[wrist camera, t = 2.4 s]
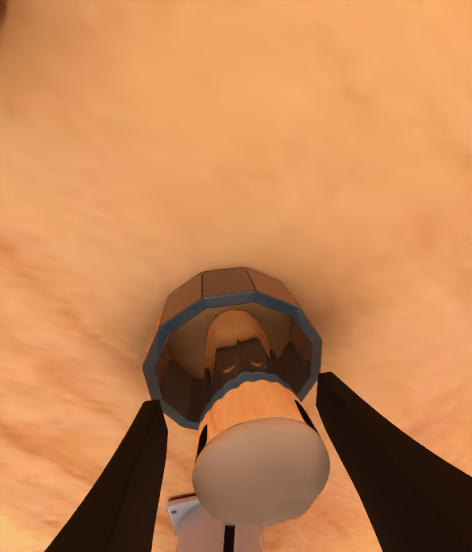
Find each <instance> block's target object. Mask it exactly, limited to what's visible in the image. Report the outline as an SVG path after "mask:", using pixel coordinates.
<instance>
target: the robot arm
mask: <svg viewBox="0 0 472 552" xmlns="http://www.w3.org/2000/svg"><path fill="white" fill-rule="evenodd" d="M316 407H317V409H318V412H319V415H320V417H321V420H322V422H323V425H324V427H325V430H326V432H327V434H328V436H329V438H330V440H331V441H332V443H333V445H334V447H335V449H336V451H337V453H338V455H339V457H340V459H341V461H342V463H343V465H344V467H345V469H346V471H347V472H348V474H349V476H350V478H351V480H352V482H353V484H354V486H355V488H356V490H357V492H358V494H359V496H360V499H361V501H362V503H363V505H364V508H365V510H366V512H367V515H368V517H369V519H370V522H371V524H372V527H373V529H374V531H375V534H376V536H377V539H378V541H379V543H380V546H381V548H382V551H383V552H472V477H471V476H469V475H467V474H466V473H464V472H463V471H461V470H459V469H458V468H456V467H454V466H453V465H451V464H450V463H448V462H446V461H445V460H443V459H442V458H440V457H439V456H437V455H435V454H434V453H432V452H431V451H429V450H428V449H427V448H425V447H424V446H422V445H421V444H419V443H418V442H416V441H415V440H414V439H412V438H411V437H409V436H408V435H407V434H405V433H404V432H403V431H401V430H400V429H399V428H397V427H396V426H395V425H393V424H392V423H391V422H390V421H388V420H387V419H386V418H384V417H383V416H382V415H381V414H379V413H378V412H377V411H376V410H375V409H373V408H372V407H371V406H370V405H369V404H367V403H366V402H365V401H364V400H363V399H362V398H360V397H359V396H358V395H357V394H356V393H355V392H354V391H352V390H351V389H350V388H349V387H348V386H347V385H346V384H345V383H343V382H342V381H341V380H340V379H339V378H338V377H337V376H336V375H335V374H333V373H332V372H325V373H319V374H318V385H317V399H316ZM167 437H168V429H167V426H166V422H165V419H164V415H163V411H162V408H161V404H160V401H159V399H157V400H151V401H145V402H144V403H143V404H142V406H141V408H140V410H139V412H138V414H137V415H136V417H135V419H134V421H133V423H132V425H131V426H130V428H129V430H128V432H127V433H126V435H125V437H124V438H123V440H122V442H121V443H120V445H119V447H118V448H117V450H116V452H115V453H114V455H113V457H112V458H111V460H110V461H109V463H108V464H107V466H106V468H105V469H104V471H103V472H102V474H101V475H100V477H99V478H98V480H97V481H96V483H95V484H94V486H93V487H92V489H91V490H90V492H89V493H88V494H87V496H86V497H85V499H84V500H83V501H82V503H81V504H80V506H79V507H78V508H77V510H76V511H75V512H74V514H73V515H72V516H71V518H70V519H69V521H68V522H67V523H66V524H65V526H64V527H63V528H62V530H61V531H60V532H59V533H58V535H57V536H56V537H55V539H54V540H53V541H52V542H51V544H50V545H49V546H48V548H47V549H46V550H45V551H44V552H151V549H152V540H153V533H154V526H155V520H156V514H157V509H158V503H159V497H160V491H161V485H162V479H163V473H164V467H165V461H166V452H167ZM167 511H168V514H169V516H170V519H171V522H172V525H173V528H174V531H175V534H176V537H177V548H176V552H221V548H222V535H223V523H224V522H222V521H219V520H217V519H214V518H213V517H212V516H210V515H209V514H208V513H207V512H206V511H205V510H204V508H203V507H202V505H201V504H200V502H199V500H198V498H197V496H192V497H186V498H181V499H176V500H172V501H170V502H168V504H167ZM261 540H262V533H261V526H239V525H235V543H234V552H262V549H261V543H260V541H261Z"/></svg>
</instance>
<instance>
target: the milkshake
mask: <svg viewBox="0 0 472 552" xmlns="http://www.w3.org/2000/svg"><path fill="white" fill-rule="evenodd" d="M329 470H330V460H329V456H328V452H327V449H326V447H325V445H324V442H323V440H322V439H321V437H320V435H319V433H318V431H317V430H316V428H315V426H314V424H313V423H312V421H311V419H310V417H309V415H308V414H307V412H306V410H305V408H304V407H303V405H302V403H301V401H300V400H299V398H298V396H297V394H296V393H295V391H294V389H293V387H292V386H291V384H290V382H289V380H288V378H287V376H286V374H285V372H284V370H283V368H282V367H281V365H280V363H279V361H278V359H277V357H276V355H275V353H274V351H273V349H272V347H271V346H270V344H269V342H268V340H267V338H266V336H265V334H264V332H263V330H262V328H261V327H260V325H259V323H258V321H257V320H256V319H255V318H254V317H252V316H251V315H250V314H249V313H248V312H247V311H240V310H228V311H226V312H224V313H222V314H220V315H218V316H216V317H215V319H214V320H213V322H212V324H211V325H210V327H209V329H208V335H207V346H206V357H205V369H204V380H203V392H202V402H201V411H200V419H199V427H198V436H197V444H196V452H195V460H194V468H193V473H192V482H193V487H194V490H195V493H196V495H197V498H198V500H199V502H200V504H201V505H202V507H203V508H204V510H205V511H206V512H207V513H208V514H209V515H210V516H212V517H213V518H214V519H217V520H219V521H222V522H224V523H223V535H222V548H221V552H234V543H235V525H239V526H271V525H274V524H276V523H279V522H283V521H286V520H290V519H294V518H298V517H300V516H302V515H303V514H304V513H305V512H306V511H307V510H308V508H309V507H310V506H311V504H312V503H313V501H314V500H315V499H316V497H317V496H318V495H319V494H320V493H321V491H322V490H323V488H324V486H325V484H326V481H327V479H328V475H329Z"/></svg>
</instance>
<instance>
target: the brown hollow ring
mask: <svg viewBox="0 0 472 552" xmlns="http://www.w3.org/2000/svg"><path fill="white" fill-rule="evenodd" d="M252 302H254V303H257V304H260V305H262V306H265V307H268V308H270V309H273V310H276V311H278V312H281V313H284V314H286V315H289V316H292V322H291V342H290V344H289V345H288V347H287V348H286V350H285V352H284V353H283V355H282V356H281V358H280V359H279V363H280V365H281V367H282V368H283V370H284V372H285V374H286V376H287V378H288V380H289V382H290V384H291V386H292V387H293V389H294V391H295V393H296V394H297V396H298V398H299V400H300V401H301V402H302V401H303V399H304V398H305V397H306V395H307V394H308V393H309V391H310V390H311V388H312V387H313V386H314V384H315V383H316V381H317V380H318V374H319V373H320V368H321V355H322V339H321V337H320V336H319V334H318V333H317V331H316V330H315V328H314V327H313V325H312V324H311V322H310V321H309V319H308V318H307V316H306V315H305V313H304V312H303V310H302V309H301V307H300V306H299V305H298V303H297V302H296V301H295V299H294V298H293V297H292V295H291V294H290V293H289V291H288V290H287V289H286V287H285V286H284V285H283V283H281V282H280V281H278V280H275V279H273V278H270V277H268V276H266V275H263V274H261V273H258V272H256V271H253V270H251V269H249V268H244V267H242V268H234V269H225V270H217V271H208V272H203V274H202V273H200V274H199V275H197V276H196V277H195V278H193V279H192V280H190V281H189V282H187V283H186V284H185V285H183V286H182V287H180V288H179V289H177V290H176V291H175V292H173V293H172V294H170V295H169V296H168V297H167V299H166V301H165V304H164V306H163V309H162V311H161V313H160V316H159V318H158V321H157V323H156V325H155V328H154V331H153V334H152V337H151V340H150V343H149V346H148V349H147V353H146V356H145V359H144V362H143V365H142V366H143V368H142V369H143V373H144V376H145V380H146V383H147V386H148V390H149V393H150V397H151V400H157V399H159V401H160V404H161V408H162V411H163V413H165V414H166V415H167V416H169V417H170V418H171V419H172V420H174V421H175V422H176V423H178V424H179V425H180V426H181V427H183V426H184V428H189V429H194V430H198V427H199V419H200V411H201V402H202V392H203V381H201V380H197V379H193V378H191V377H190V376H189V375H188V374H187V373H186V372H185V371H183V370H182V369H181V368H180V367H179V366H178V365H177V364H176V363H175V362H174V361H172V360H171V359H170V355H169V351H168V346H167V342H166V341H167V339H168V337H169V335H170V333H171V332H173V331H174V330H176V329H177V328H179V327H180V326H182V325H183V324H185V323H186V322H188V321H189V320H191V319H192V318H193V317H195V316H196V315H198V314H199V313H201V312H202V311H204V310H205V309H207V308H214V307H221V306H229V305H236V304H244V303H252Z"/></svg>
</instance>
